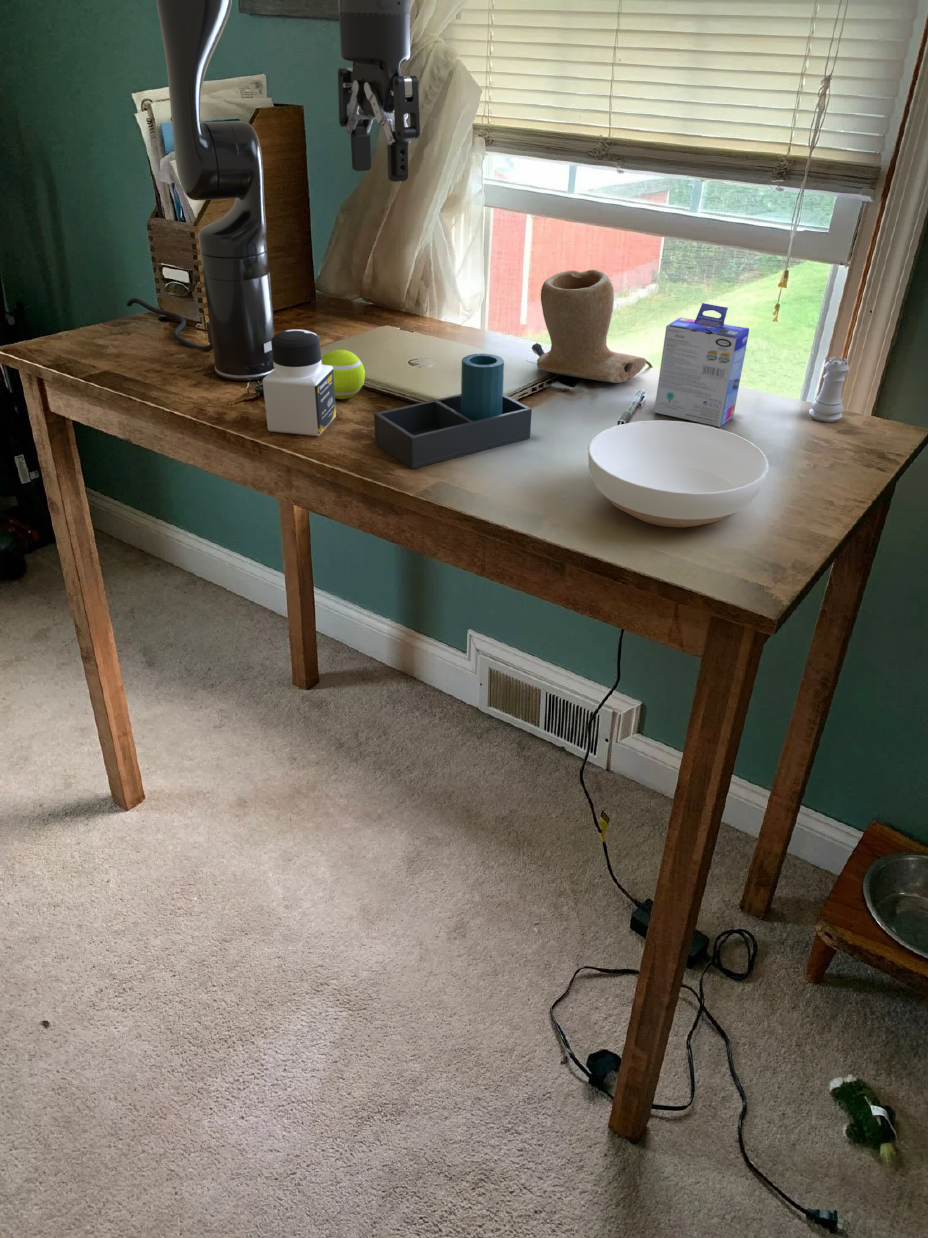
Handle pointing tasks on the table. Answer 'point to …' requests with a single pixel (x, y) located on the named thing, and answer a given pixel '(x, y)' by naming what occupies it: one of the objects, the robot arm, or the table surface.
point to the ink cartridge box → (701, 368)
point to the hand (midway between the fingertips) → (379, 175)
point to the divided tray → (447, 430)
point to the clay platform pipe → (583, 328)
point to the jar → (482, 386)
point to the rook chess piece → (830, 392)
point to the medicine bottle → (298, 385)
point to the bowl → (676, 471)
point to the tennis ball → (345, 372)
